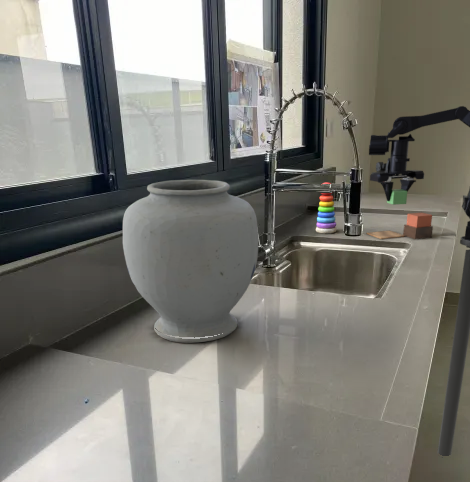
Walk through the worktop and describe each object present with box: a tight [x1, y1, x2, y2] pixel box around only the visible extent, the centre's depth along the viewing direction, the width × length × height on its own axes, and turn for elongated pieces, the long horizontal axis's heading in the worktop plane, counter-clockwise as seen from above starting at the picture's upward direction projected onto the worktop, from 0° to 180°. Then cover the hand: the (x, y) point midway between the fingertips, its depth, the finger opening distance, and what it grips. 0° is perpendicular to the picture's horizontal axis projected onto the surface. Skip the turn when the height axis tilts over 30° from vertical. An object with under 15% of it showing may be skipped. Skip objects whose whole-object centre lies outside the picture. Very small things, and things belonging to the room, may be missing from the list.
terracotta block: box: [406, 211, 433, 228], centre depth 178 cm, size 6×6×4 cm
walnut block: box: [402, 223, 434, 240], centre depth 180 cm, size 7×7×4 cm
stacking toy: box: [315, 182, 338, 235], centre depth 189 cm, size 8×8×19 cm
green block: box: [386, 188, 408, 206], centre depth 177 cm, size 5×5×4 cm
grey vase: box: [122, 179, 259, 344], centre depth 101 cm, size 27×27×30 cm
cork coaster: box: [366, 230, 406, 240], centre depth 184 cm, size 10×10×1 cm
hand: (395, 200), depth 179 cm, fingers closed on green block, 5 cm apart
